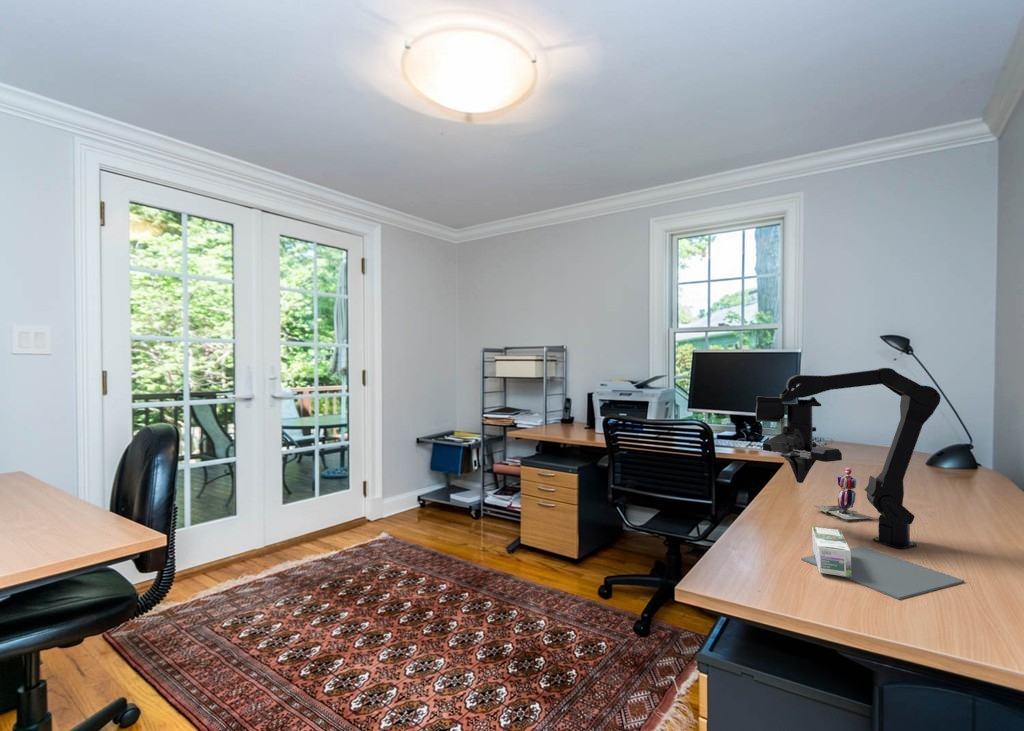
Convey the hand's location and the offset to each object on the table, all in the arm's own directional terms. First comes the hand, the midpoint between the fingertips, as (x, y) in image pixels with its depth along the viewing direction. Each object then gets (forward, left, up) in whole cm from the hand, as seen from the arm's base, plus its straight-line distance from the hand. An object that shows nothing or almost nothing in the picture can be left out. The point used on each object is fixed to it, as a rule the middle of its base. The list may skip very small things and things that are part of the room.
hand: (800, 482), depth 127 cm
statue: (-24, -6, -13) cm, 28 cm away
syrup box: (+7, +13, -10) cm, 18 cm away
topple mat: (+6, +23, -13) cm, 27 cm away
